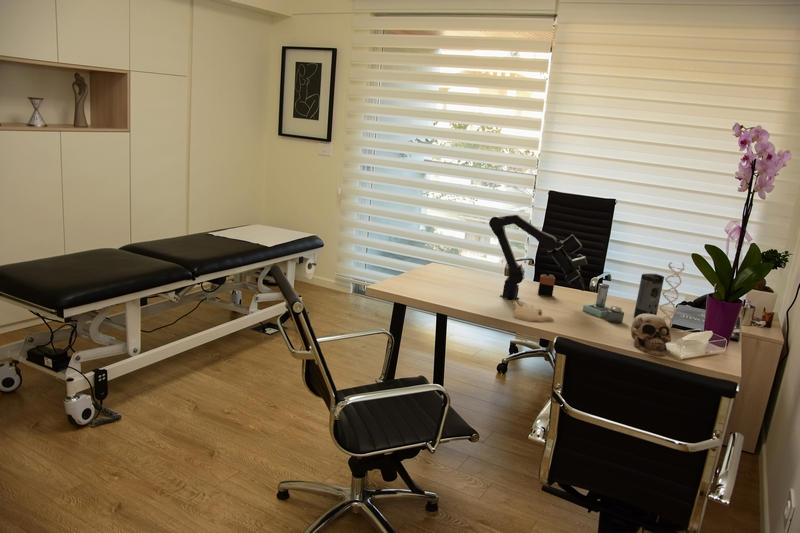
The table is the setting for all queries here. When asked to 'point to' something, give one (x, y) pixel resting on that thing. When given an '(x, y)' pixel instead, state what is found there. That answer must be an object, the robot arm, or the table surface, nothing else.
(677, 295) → the dna model
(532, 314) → the hand model
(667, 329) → the tan skull model
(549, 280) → the battery
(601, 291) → the grey cylindrical piece
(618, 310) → the calibration weight
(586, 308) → the tray
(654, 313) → the electronic device
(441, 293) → the table surface
